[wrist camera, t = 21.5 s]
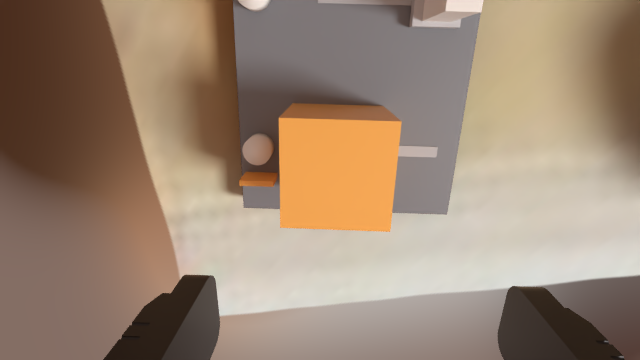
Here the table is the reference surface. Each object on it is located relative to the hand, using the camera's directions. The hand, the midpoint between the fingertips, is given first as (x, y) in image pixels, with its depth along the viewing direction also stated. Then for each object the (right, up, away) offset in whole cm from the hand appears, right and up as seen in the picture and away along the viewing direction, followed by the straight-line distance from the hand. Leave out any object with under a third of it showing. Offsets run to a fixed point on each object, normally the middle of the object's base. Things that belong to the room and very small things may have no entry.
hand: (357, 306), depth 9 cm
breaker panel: (+1, +11, +16) cm, 19 cm away
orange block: (0, +6, +16) cm, 17 cm away
